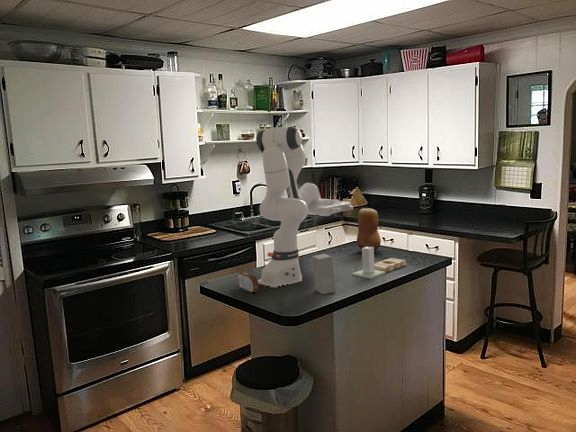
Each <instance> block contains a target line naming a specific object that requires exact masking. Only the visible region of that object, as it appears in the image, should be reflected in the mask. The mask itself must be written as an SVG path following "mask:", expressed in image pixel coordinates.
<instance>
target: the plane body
mask: <svg viewBox="0 0 576 432" xmlns="http://www.w3.org/2000/svg"><path fill="white" fill-rule="evenodd" d="M406 264H407V261H406V260H405V259H399V258H394V257H389V258H387V259H384V260H380V261H377V262H374V268H375V270H379V271H384V272H385V274H386V273H389V272H390V271H394V270H397V269H399V268H402V267H405V266H407V265H406Z"/></svg>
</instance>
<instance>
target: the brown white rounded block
mask: <svg viewBox="0 0 576 432" xmlns="http://www.w3.org/2000/svg"><path fill="white" fill-rule="evenodd" d="M257 280H258V279H257V277H256V275H255V274H253V273H251V272H248V271H246V270H242V271H240V272H238V273H237V284H238V286H239V287H242V288H244V289H247V290H249V291H251V292H255V293H258V291H259V288H260V285H259V284H258V281H257Z"/></svg>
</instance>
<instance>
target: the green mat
mask: <svg viewBox="0 0 576 432" xmlns="http://www.w3.org/2000/svg"><path fill="white" fill-rule="evenodd" d="M351 273H352V274H351V275H352V276H355V277H360V278H364V279H369V280H373V279H375V278H377V277H378V278H379V277H380V276H382V275H385V274H386V273H385V272H384V271H379V270H375V272H374V273H371V274H367V273H363V269H360V270H358V271H355V272H351Z"/></svg>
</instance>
